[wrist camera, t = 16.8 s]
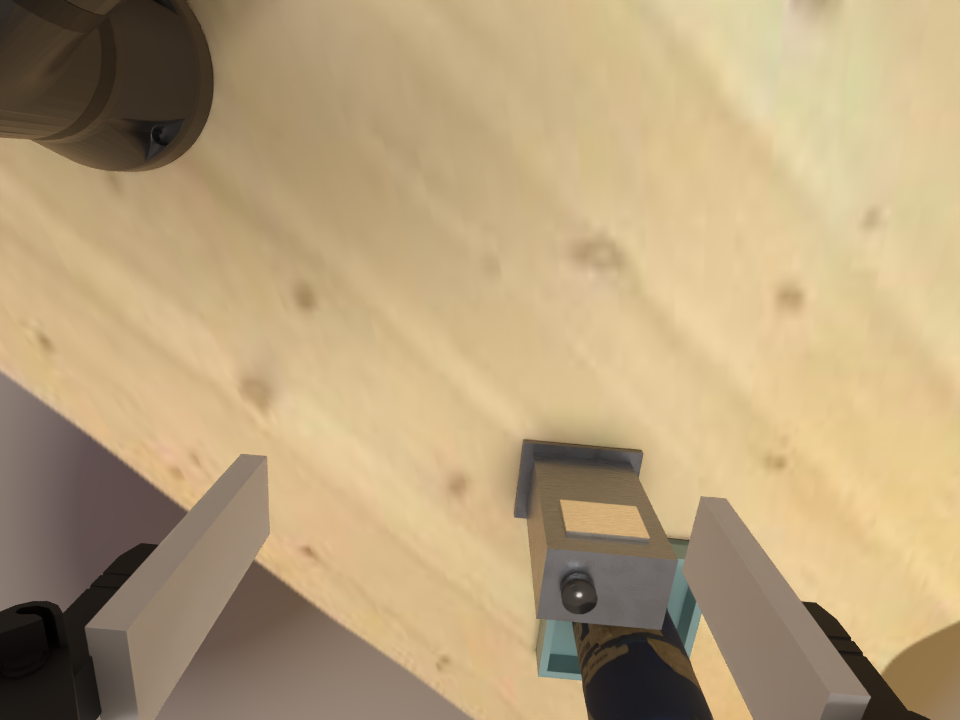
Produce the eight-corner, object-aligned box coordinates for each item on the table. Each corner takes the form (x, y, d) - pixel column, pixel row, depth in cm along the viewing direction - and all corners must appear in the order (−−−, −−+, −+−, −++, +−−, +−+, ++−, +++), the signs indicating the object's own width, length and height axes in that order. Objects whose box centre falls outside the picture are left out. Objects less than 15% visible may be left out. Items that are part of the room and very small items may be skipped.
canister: (562, 573, 54) (592, 754, 37) (658, 558, 53) (735, 737, 36) (577, 648, 57) (611, 848, 40) (668, 635, 56) (744, 835, 39)
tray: (536, 652, 58) (538, 676, 55) (555, 528, 53) (558, 547, 50) (671, 664, 58) (681, 689, 55) (703, 541, 53) (715, 562, 51)
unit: (514, 513, 53) (521, 641, 38) (523, 439, 50) (535, 545, 36) (626, 524, 53) (677, 655, 38) (641, 450, 50) (702, 561, 36)
